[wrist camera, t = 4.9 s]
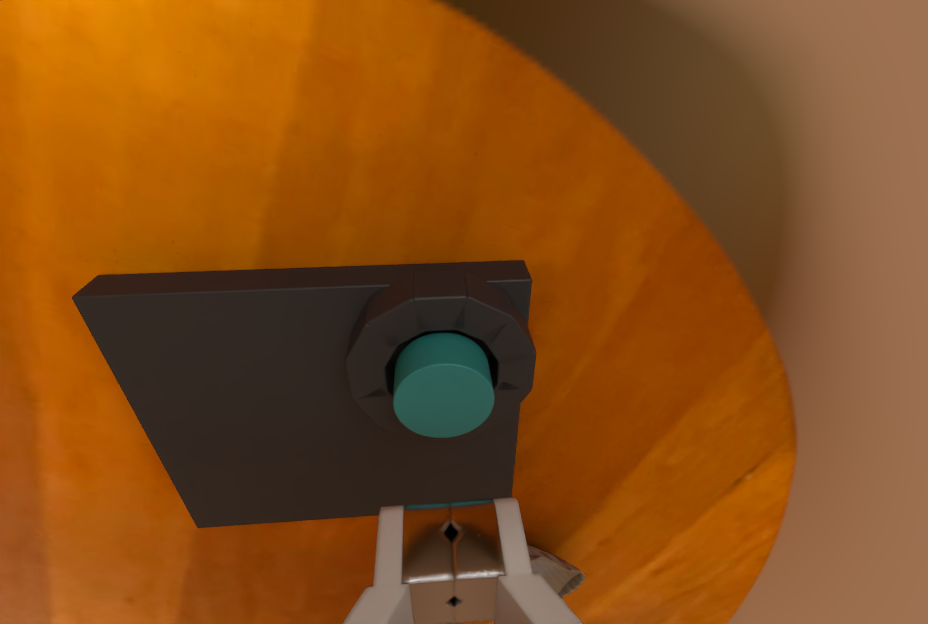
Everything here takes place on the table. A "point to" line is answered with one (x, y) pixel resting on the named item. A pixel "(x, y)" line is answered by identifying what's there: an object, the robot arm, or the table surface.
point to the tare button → (442, 385)
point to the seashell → (555, 571)
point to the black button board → (310, 383)
